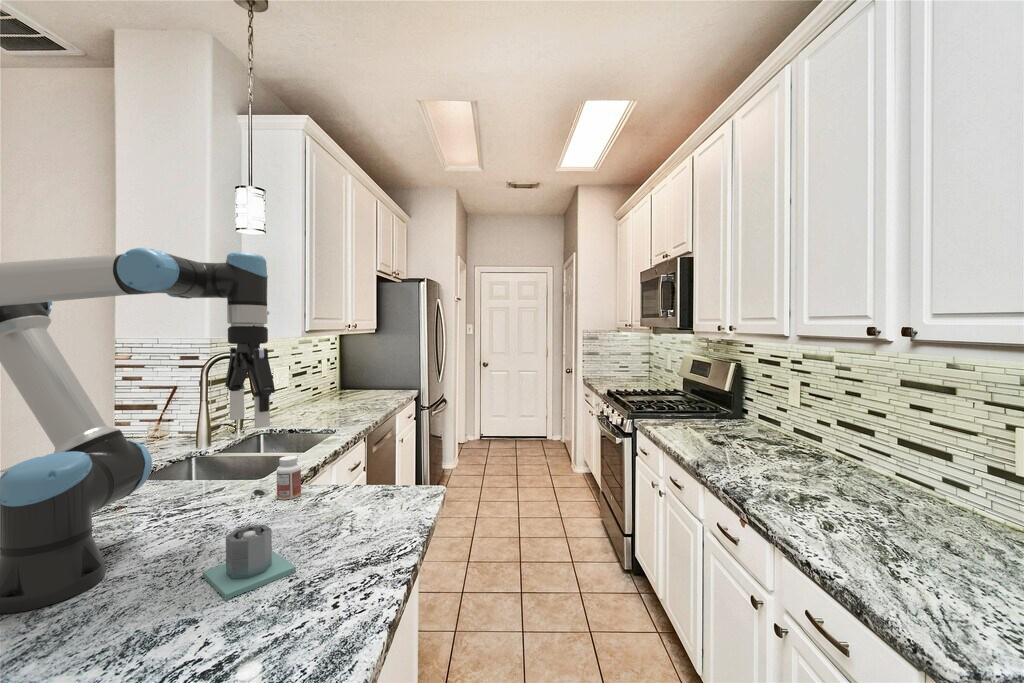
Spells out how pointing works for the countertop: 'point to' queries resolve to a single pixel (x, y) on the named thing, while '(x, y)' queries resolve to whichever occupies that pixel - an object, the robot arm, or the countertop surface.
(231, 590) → the block
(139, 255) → the robot arm
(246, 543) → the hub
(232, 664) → the countertop surface
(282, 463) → the pill bottle
